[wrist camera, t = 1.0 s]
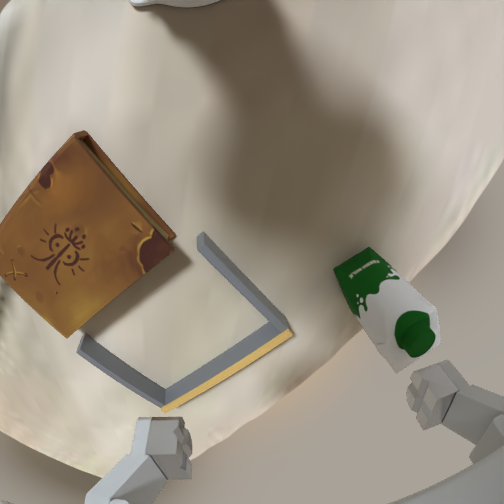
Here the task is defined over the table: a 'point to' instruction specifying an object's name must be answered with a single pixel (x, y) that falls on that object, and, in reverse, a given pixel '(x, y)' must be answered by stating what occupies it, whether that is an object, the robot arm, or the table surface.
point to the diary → (79, 236)
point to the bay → (212, 370)
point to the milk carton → (388, 309)
